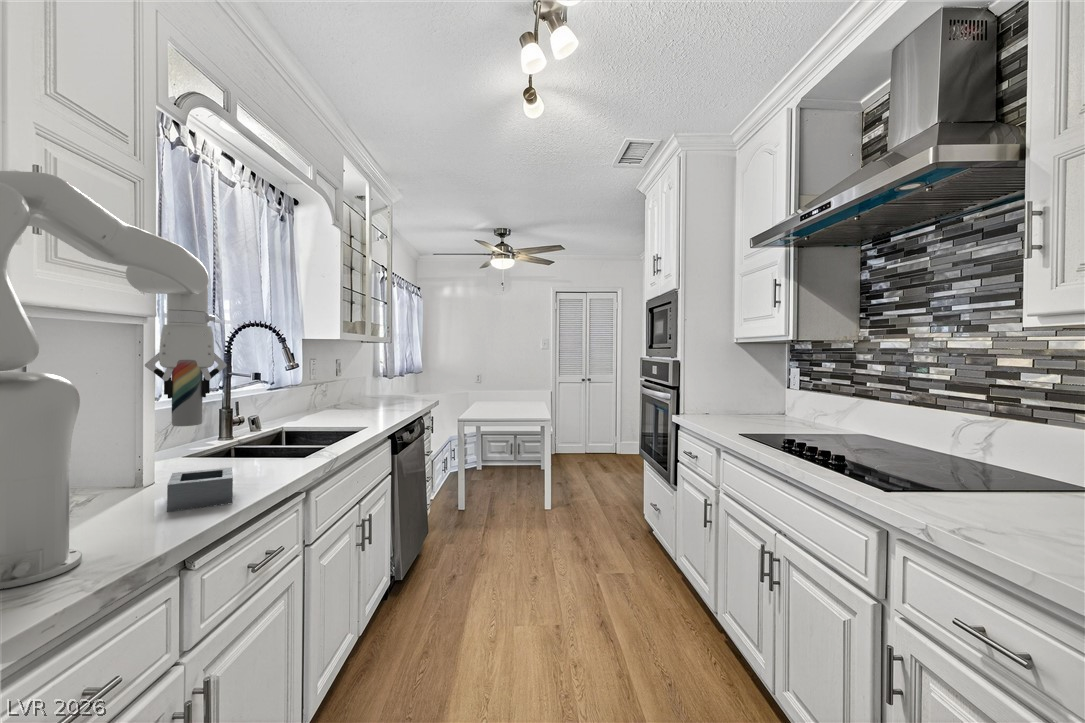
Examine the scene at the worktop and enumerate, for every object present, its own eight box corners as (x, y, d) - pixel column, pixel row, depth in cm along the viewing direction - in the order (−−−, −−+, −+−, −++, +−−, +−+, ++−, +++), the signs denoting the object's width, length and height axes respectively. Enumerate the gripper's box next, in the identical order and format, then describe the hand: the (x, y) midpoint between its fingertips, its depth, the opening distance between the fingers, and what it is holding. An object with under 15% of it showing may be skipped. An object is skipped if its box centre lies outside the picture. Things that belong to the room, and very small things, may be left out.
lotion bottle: (177, 423, 111) (178, 338, 111) (205, 422, 113) (206, 339, 112) (167, 427, 106) (167, 338, 105) (197, 426, 108) (197, 338, 107)
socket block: (232, 503, 110) (232, 477, 110) (167, 511, 103) (167, 484, 103) (231, 490, 120) (232, 467, 120) (172, 497, 113) (172, 473, 113)
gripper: (231, 322, 117) (231, 394, 117) (141, 318, 107) (140, 397, 107) (232, 320, 111) (232, 397, 111) (136, 316, 101) (136, 400, 101)
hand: (187, 396), depth 109 cm, fingers closed on lotion bottle, 5 cm apart
